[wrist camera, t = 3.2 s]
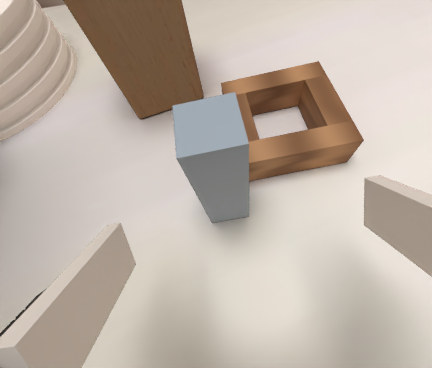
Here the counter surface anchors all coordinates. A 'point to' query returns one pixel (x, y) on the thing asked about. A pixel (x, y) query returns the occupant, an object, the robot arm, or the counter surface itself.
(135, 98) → the wooden block
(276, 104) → the square wooden frame
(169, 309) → the counter surface
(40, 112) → the plate stack
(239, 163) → the tall blue pillar
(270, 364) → the counter surface
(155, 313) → the counter surface
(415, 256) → the robot arm
